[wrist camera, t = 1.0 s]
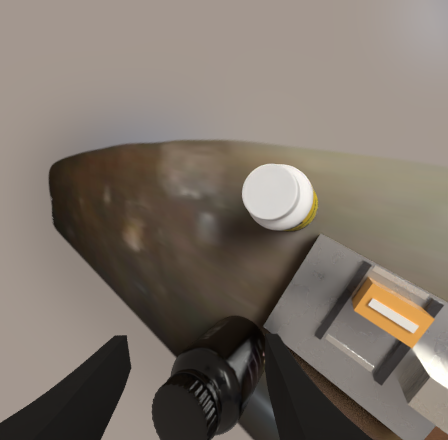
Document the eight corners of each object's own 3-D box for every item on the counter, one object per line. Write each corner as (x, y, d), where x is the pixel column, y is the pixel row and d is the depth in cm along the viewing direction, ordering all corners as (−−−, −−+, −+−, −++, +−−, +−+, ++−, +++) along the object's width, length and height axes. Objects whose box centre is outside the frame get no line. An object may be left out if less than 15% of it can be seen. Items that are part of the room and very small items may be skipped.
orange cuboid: (420, 306, 18) (436, 320, 15) (401, 332, 19) (413, 349, 16) (368, 276, 20) (373, 283, 17) (351, 300, 20) (353, 311, 17)
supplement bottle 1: (215, 369, 28) (138, 453, 17) (214, 311, 28) (139, 357, 18) (272, 384, 25) (221, 497, 14) (269, 318, 25) (219, 380, 15)
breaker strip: (494, 327, 18) (546, 359, 13) (408, 429, 20) (428, 487, 15) (322, 233, 24) (318, 233, 19) (268, 320, 25) (253, 338, 21)
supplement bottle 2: (289, 241, 25) (262, 246, 16) (258, 204, 27) (218, 190, 18) (331, 208, 23) (326, 192, 15) (295, 170, 25) (271, 136, 16)
